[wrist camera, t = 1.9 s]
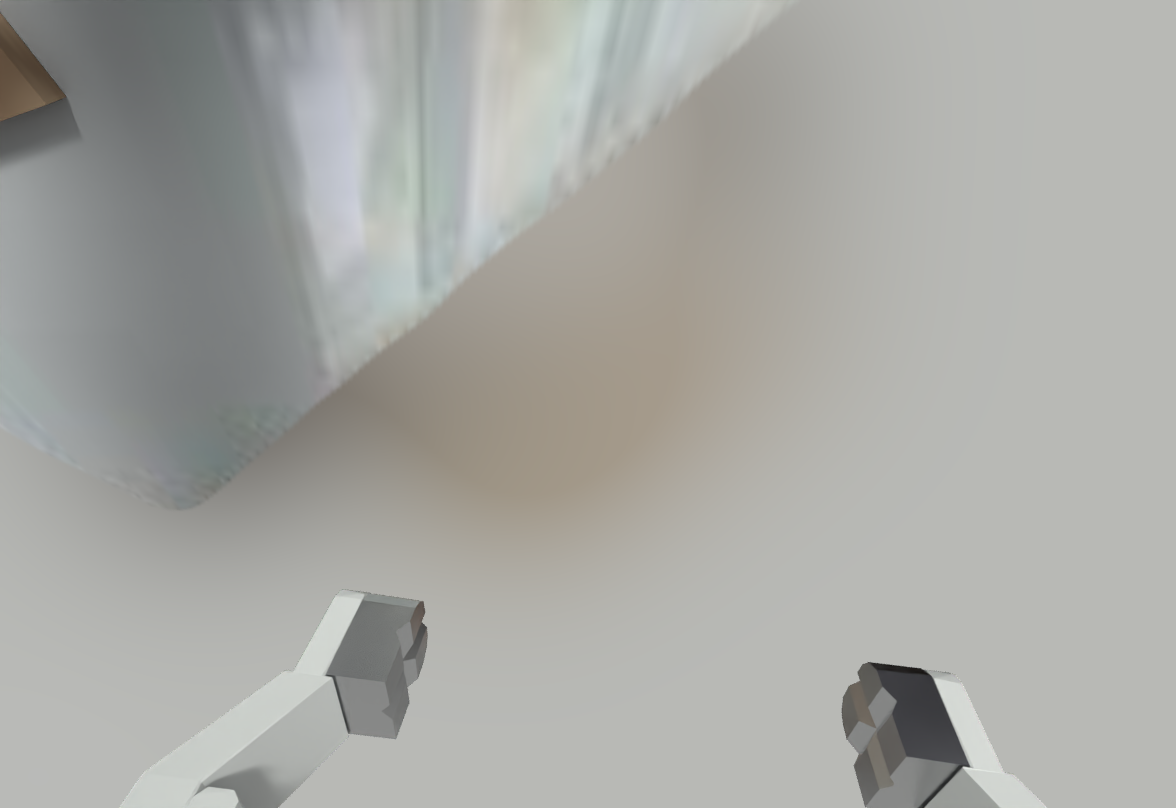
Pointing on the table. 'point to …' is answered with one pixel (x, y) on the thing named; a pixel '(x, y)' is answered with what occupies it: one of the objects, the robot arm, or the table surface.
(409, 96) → the table surface
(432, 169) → the table surface
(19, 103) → the dial board
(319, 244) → the table surface
